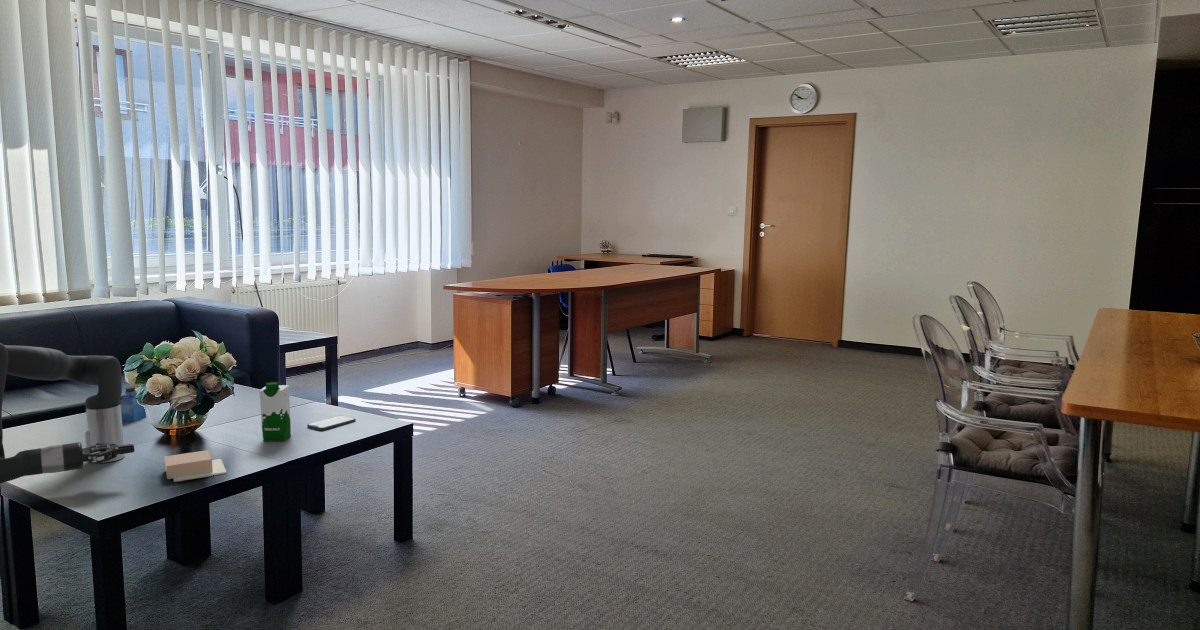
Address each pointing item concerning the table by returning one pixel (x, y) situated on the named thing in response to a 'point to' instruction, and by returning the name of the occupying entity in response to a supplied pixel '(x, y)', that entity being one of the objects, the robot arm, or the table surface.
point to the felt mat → (217, 470)
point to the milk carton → (275, 412)
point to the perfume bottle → (131, 406)
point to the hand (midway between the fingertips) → (134, 447)
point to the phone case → (330, 423)
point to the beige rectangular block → (188, 464)
